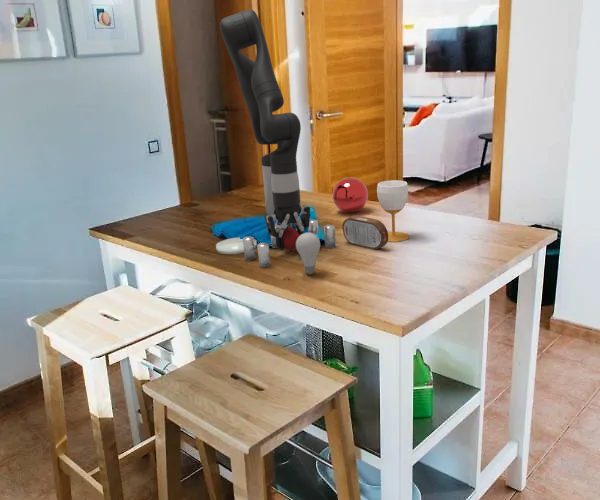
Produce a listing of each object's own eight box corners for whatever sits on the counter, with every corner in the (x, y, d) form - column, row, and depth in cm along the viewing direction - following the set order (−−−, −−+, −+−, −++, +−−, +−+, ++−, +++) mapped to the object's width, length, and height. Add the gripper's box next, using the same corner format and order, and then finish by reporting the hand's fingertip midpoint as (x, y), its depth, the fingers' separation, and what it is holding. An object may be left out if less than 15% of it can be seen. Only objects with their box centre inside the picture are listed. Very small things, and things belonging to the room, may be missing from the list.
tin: (389, 249, 166) (388, 220, 164) (382, 252, 164) (381, 223, 162) (348, 240, 177) (347, 212, 174) (341, 243, 175) (339, 215, 172)
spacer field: (308, 235, 184) (307, 216, 182) (345, 249, 169) (344, 228, 167) (236, 255, 171) (234, 235, 169) (269, 271, 156) (267, 250, 154)
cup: (412, 233, 178) (412, 180, 173) (404, 243, 170) (403, 187, 165) (383, 231, 182) (381, 179, 177) (374, 240, 174) (372, 186, 169)
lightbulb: (297, 271, 155) (294, 230, 152) (320, 269, 156) (318, 228, 152) (299, 279, 150) (295, 237, 146) (323, 277, 150) (320, 235, 146)
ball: (374, 208, 207) (373, 174, 203) (359, 218, 198) (357, 182, 194) (343, 206, 213) (341, 173, 209) (327, 215, 204) (325, 180, 200)
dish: (244, 238, 186) (244, 234, 185) (264, 247, 176) (264, 243, 176) (209, 247, 179) (208, 244, 179) (228, 257, 170) (227, 253, 169)
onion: (298, 255, 167) (296, 227, 164) (278, 255, 168) (276, 227, 165) (302, 248, 172) (300, 221, 170) (283, 248, 173) (281, 221, 171)
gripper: (299, 181, 171) (303, 237, 176) (256, 191, 163) (261, 249, 169) (315, 185, 165) (318, 243, 170) (270, 195, 157) (276, 255, 163)
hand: (290, 246), depth 170 cm, fingers closed on onion, 6 cm apart
